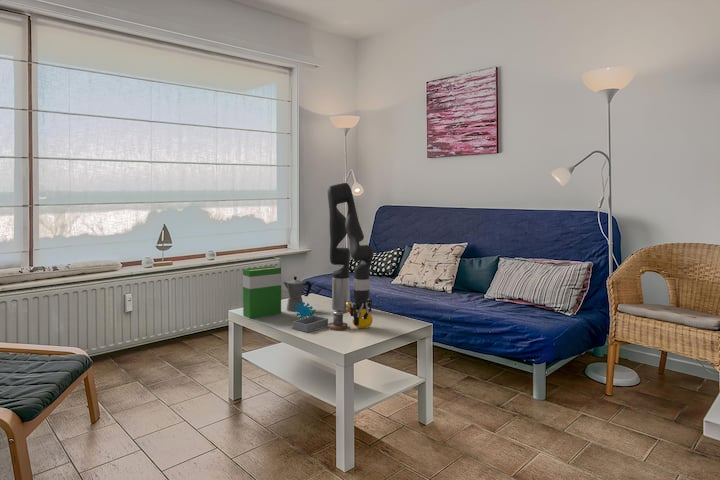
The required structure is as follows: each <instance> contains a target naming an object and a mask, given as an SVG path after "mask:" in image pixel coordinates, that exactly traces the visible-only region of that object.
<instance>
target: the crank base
mask: <svg viewBox="0 0 720 480" xmlns="http://www.w3.org/2000/svg"><path fill="white" fill-rule="evenodd" d="M348 325H349V324H348V323H347V322H344V314H343V315H341V316H335V315H333V320H332V321H331V322H330V323H329V322H328V326H327V327H328V329H329V330H332V331H344V330H348Z"/></svg>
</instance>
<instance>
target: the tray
mask: <svg viewBox="0 0 720 480" xmlns="http://www.w3.org/2000/svg"><path fill="white" fill-rule="evenodd" d="M328 324H329V318H327V317H322V316H318V315H313V316H310V317H309V316H307V318H305V317H304V318H302V319H300V318H299V319H296V320H293V321H292V329H293V330H295V331H300V332H304V333H310V332H312V331H317V330H320V329H324V328H326V327H328Z"/></svg>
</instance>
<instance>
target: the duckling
mask: <svg viewBox="0 0 720 480" xmlns="http://www.w3.org/2000/svg"><path fill="white" fill-rule="evenodd" d="M356 310H358V309H357V308H356ZM348 313H349V314H350V315H351V313H350V309H349V312H348ZM365 313H366V310H365V309H362V310H361V313H360V314H359V325H354V318H353V319H352V324H353V325H354V327H356V328H357V329H367V328H370V327H371V326H372V324H373V320H374V319H373V318H374V317H373V316H372V314H368V316H367V318H366V319H363V316H364V315H365ZM353 314H354V312H353ZM356 314H357V312H356Z"/></svg>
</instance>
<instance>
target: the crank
mask: <svg viewBox="0 0 720 480" xmlns="http://www.w3.org/2000/svg"><path fill="white" fill-rule="evenodd" d="M351 303H352V304H353V302H352V301H350V302H346V309H344V310H335V311H333V312H332V313H333V315H335V316H341V315H343V316H344V314H348V313H349V309H350V304H351Z"/></svg>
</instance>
